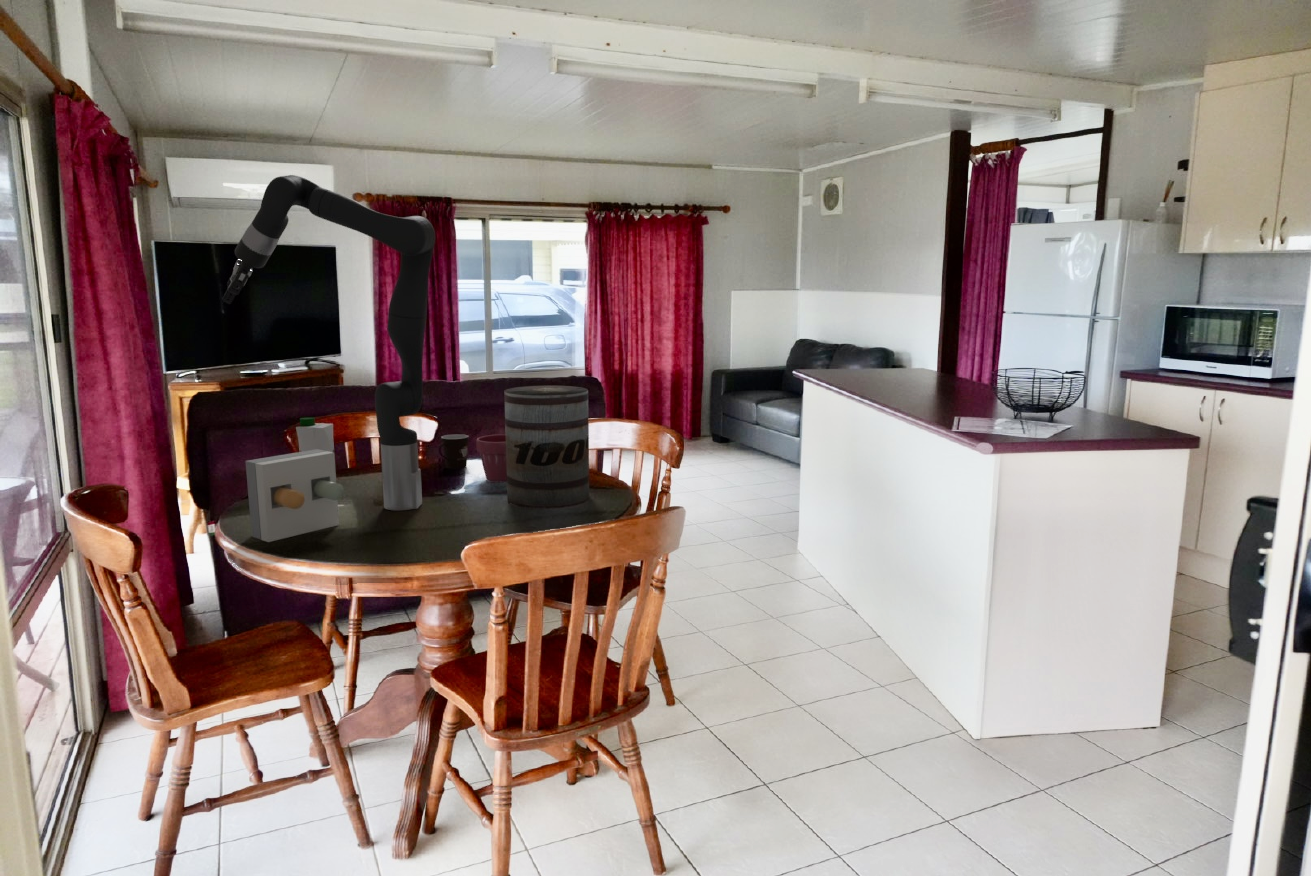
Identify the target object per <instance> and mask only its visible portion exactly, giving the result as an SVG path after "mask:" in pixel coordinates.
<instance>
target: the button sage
mask: <svg viewBox="0 0 1311 876" xmlns="http://www.w3.org/2000/svg"><path fill="white" fill-rule="evenodd" d="M344 491H345V489H344V486H343V485H342V484H340V483H338V482H336V483H334V482H330V481H326V480H320V481H318V482H317V483H316V484H315V487H314V492H315V494H316V495H317V496H320V497H324V498H327V499H331V500H337V501H339V500H341V498H342V497H343V495H344Z"/></svg>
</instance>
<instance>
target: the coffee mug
mask: <svg viewBox="0 0 1311 876" xmlns="http://www.w3.org/2000/svg"><path fill="white" fill-rule="evenodd" d="M440 437H441V444H440V445H439V447H438V453H439V455H440V456H441V457H442V458H443V459H444V463H445V468H446V469H448V470H461V469H465V468H467V462H468V452H469V449H468V448H469V435H466V434H461V433H460V434H446V435H442V436H440ZM441 451H443V453H442V452H441Z"/></svg>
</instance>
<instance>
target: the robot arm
mask: <svg viewBox="0 0 1311 876" xmlns="http://www.w3.org/2000/svg"><path fill="white" fill-rule="evenodd" d="M294 206H298V207H302V208H305V209H307V210H308V211H309V212H310V214H312V215H313V216H314V217H315V216H316V217H317V218H320V219H322V220H325V221H328V222H331V223H334V224H336V225H339V226H342V227H345V228H347V229H351V230H353V231H356V232H358V233H361V234H363V235H365V236H367V237H370V238H373V239H375V241H378V242H380V243H382V244H384V245H385V246H387V247H389V248H390V249H392V250H394V251H396V252H398V253H399V254H400V266H399V267H400V270H399V273H398V277H397V279H396V282H395V285H394V288H393V291H392V294H391V298H390V300H389V306H388V314H387V315H388V316H387V334H388V337H389V339H390V340H391V344H392V345H393V346H394V348H395V350H396V352H397V354H398V356H399V359H400V361H401V379H400V380H399V381H387V382H382V383H380V384H379V385H377V387H376V389H375V393H374V409H375V417H376V427H377V432H378V436H379V439H380V457H381V458H380V460H381V474H382V488H383V489H382V493H383V495H382V496H383V508H384V509H385V510H390V511H407V510H417V509H419V508H420V506H421V505H422V504H423V494H422V492H423V491H422V490H423V489H422V472H421V471H422V469H421V468H419V452H418V451H419V450H418V449H419V448H418V434H417V431H415V430H414V429H410V428H406V427H404V426H402V425H401V422H400V418H401V417H409V416H413V415H417V413H419V412H420V410H421V408H422V403H423V397H424V395H423V394H424V393H423V390H424V389H423V385H424V383H423V382H424V381H423V358H424V346H425V345H424V343H425V334H426V325H427V315H428V314H427V312H428V311H427V310H428V295H429V276H430V268H431V263H432V260H433V259H432V258H433V253H434V249H435V244H436V231H435V227H433V224H432V223H431V222H430V221H429V219H428V218H426V217H424V216H420V215H412V216H405V217H400V216H399V217H398V216H394V215H389V214H385V213H382V212H379V211H376V210H373V209H371V208H369V207H367V206H365V205H363V204H362V203H360V202H358V201H357V200H355V199H353V198H350V197H348V196H346V195H343V194H341V193H338V192H335V191H332V190H329V189H327V188H323V187H322V186H320V185H318V184H316V183H314V182H313V181H311V180H309V179H306V178H304V177H302V176H298V175H295V174H290V175H281V176H280V175H279V176H277V177H275V178H273V179H272V180H271V181H270V182H269V183H268V184H267V186H266V189H265V190H264V193H263V196H262V200H261V203H260V209H259V210H258V211H257V213H256V215H255V216H254V218H253V220H252V221H251V223H250V224H249V225H248V227H247V228H246V229H245V231H244V233H243V234H242V236H241V238H240V240H239V241H238V243H237V245H236V247H235V249H234V255H235V257H236V258H237V260H236V261H235V264H234V267H233V270H232V274H231V276H230V277H229V278H228V281H227V282H226V287H227V289H226V291H225V293H224V295H223V296H222V299H221V301H222V302H224V303H225V304H228V305H231V304H232V303H233V301H234V300H235V298H236V297H237V296H239V295H240V294H241V293H240V292H241V290H242V289H243V287H244V286H245V285H246V283H247V281H248V279H249V278H250V277H251V276H252V273H253V269H254V268H256V269H262V268H264V267H265V266H266V264H267V262H268V261H269V259H270V257H271V256H272V254H273V252H274V250H275V249H276V247H277V245H278V243H279V241H280V238H281V236H282V235H283V233H284V232H285V230H286V228H287V227H288V224H289V217H288V214H289V212H290V209H291V208H292V207H294Z"/></svg>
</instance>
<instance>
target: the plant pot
mask: <svg viewBox="0 0 1311 876" xmlns="http://www.w3.org/2000/svg"><path fill="white" fill-rule="evenodd" d="M476 451H477V452H478V453H479V455H480V458H481V459H480V460H481V463H482V467H483V471H484V474H485V479H486V481H488V482H491V483H505V482H506V483H507V465H506V433H504V434H503V433H500V434H489V435H483V436H480V437H477V438H476Z"/></svg>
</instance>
